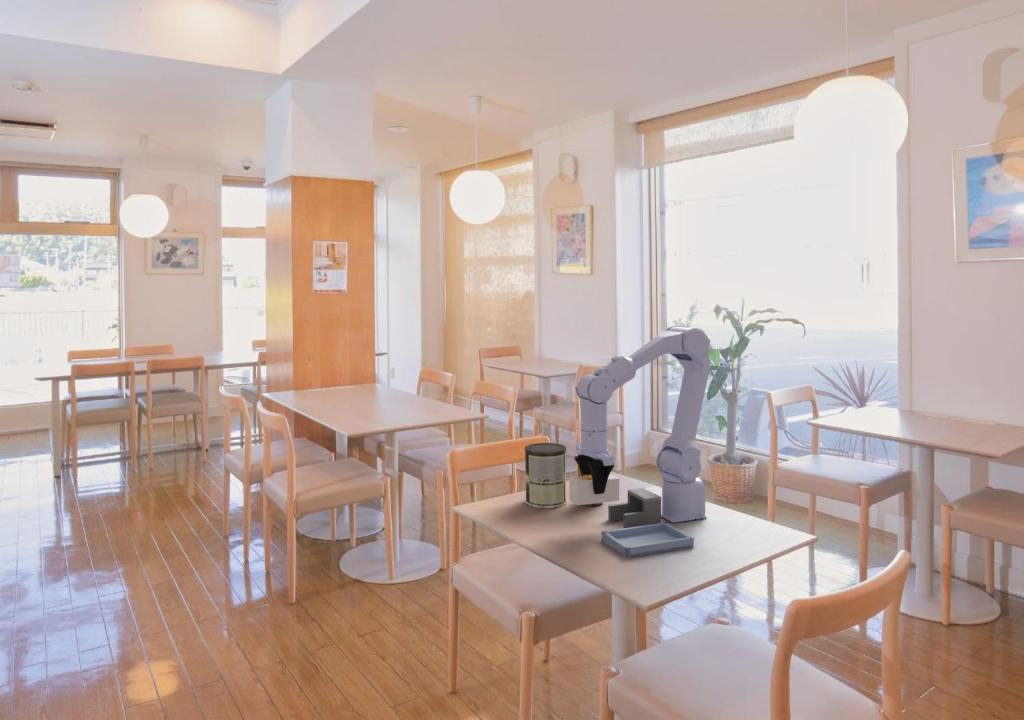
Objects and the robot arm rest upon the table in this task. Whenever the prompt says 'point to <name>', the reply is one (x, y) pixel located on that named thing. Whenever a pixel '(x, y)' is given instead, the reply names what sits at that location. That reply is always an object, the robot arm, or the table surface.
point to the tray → (647, 539)
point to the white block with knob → (584, 492)
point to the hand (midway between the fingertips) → (594, 490)
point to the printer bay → (637, 509)
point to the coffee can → (545, 475)
